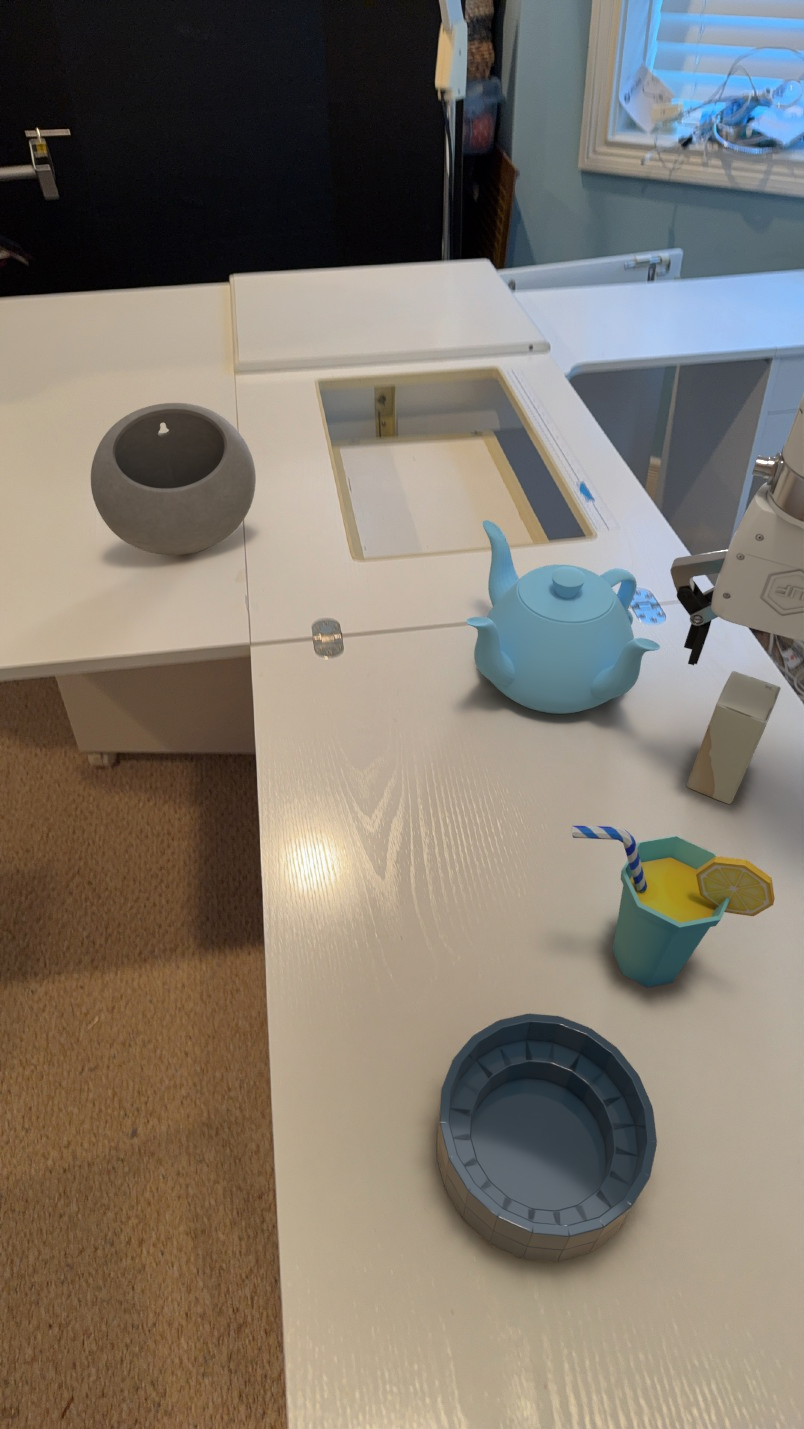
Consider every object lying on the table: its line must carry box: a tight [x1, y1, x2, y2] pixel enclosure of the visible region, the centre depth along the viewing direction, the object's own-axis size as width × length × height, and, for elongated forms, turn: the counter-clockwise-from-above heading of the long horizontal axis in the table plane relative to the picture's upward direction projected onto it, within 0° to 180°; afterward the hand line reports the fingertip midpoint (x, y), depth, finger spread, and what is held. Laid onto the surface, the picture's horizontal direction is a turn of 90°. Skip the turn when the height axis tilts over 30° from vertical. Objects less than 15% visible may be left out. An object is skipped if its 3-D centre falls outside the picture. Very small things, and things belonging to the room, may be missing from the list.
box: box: [686, 670, 782, 805], centre depth 78 cm, size 5×4×11 cm
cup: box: [571, 825, 776, 988], centre depth 63 cm, size 14×8×15 cm, turn 79°
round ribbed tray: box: [436, 1013, 658, 1263], centre depth 56 cm, size 13×13×6 cm
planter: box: [90, 402, 257, 556], centre depth 100 cm, size 18×7×19 cm, turn 110°
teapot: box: [465, 519, 661, 715], centre depth 88 cm, size 17×19×12 cm
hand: (753, 670), depth 72 cm, fingers open, 9 cm apart
